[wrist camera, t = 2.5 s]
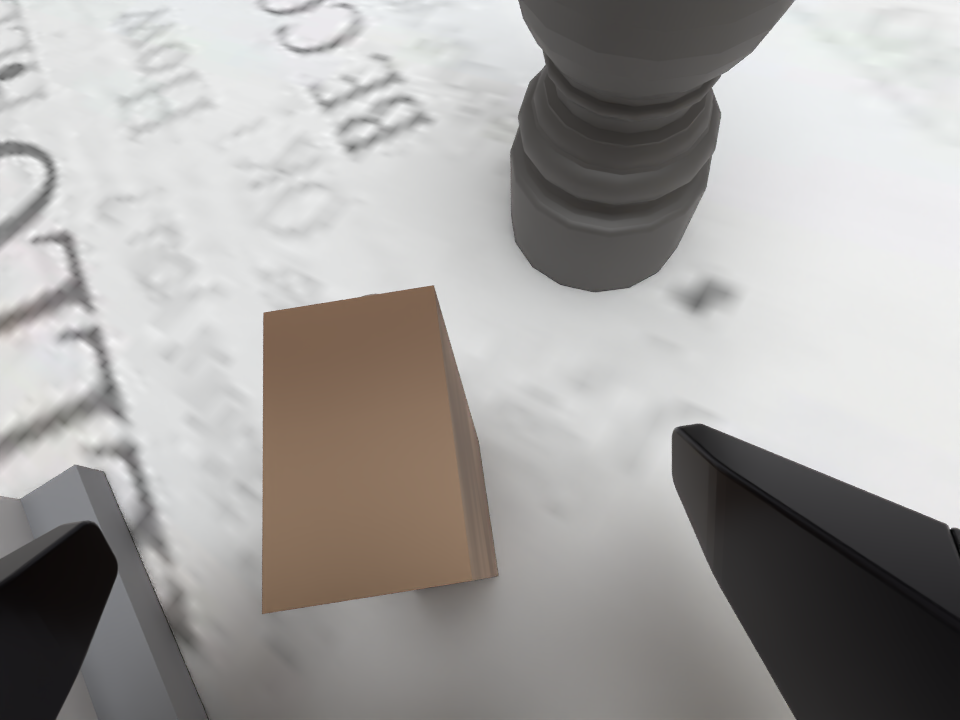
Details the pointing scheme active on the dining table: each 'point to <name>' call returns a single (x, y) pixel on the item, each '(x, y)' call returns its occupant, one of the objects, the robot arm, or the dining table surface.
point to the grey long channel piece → (110, 610)
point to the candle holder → (622, 129)
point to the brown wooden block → (367, 454)
